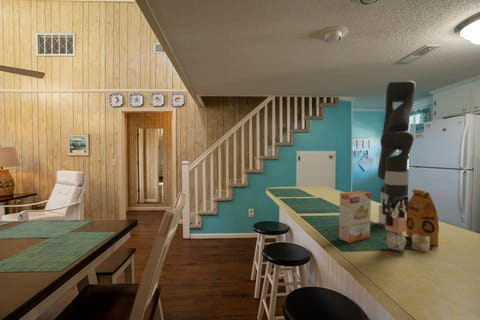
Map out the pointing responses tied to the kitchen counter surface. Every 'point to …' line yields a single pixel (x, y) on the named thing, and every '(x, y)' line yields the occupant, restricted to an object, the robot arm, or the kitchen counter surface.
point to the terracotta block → (397, 225)
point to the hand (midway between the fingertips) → (395, 224)
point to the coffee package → (422, 216)
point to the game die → (395, 241)
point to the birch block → (421, 242)
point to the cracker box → (354, 216)
